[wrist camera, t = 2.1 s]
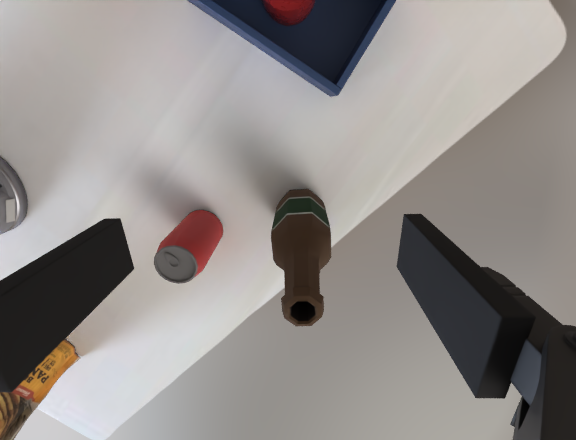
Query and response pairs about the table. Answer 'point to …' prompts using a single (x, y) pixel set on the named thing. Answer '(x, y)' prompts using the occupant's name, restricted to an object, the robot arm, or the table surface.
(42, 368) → the pancake mix bag
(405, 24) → the table surface
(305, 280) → the beer bottle
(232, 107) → the table surface
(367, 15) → the box
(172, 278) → the beer can
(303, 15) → the can
